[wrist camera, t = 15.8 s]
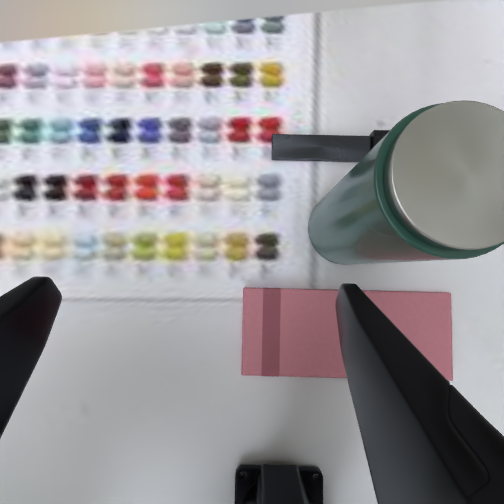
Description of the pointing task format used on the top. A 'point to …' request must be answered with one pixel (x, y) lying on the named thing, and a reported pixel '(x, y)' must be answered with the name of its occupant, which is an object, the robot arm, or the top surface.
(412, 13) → the top surface
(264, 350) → the towel
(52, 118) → the top surface
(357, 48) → the top surface
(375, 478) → the robot arm
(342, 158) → the nail file
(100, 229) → the top surface
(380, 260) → the tin
